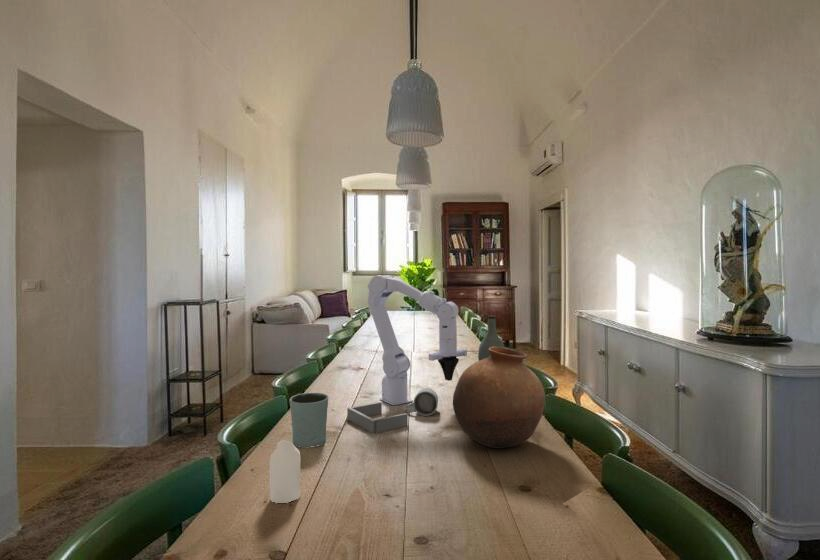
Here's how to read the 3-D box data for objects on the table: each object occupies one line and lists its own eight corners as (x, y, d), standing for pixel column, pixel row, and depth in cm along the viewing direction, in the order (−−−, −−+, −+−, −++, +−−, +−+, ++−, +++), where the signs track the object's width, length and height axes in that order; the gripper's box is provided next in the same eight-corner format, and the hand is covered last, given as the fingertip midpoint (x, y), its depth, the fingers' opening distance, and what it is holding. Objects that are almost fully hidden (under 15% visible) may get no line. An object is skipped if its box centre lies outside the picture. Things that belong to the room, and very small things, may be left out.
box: (347, 419, 147) (347, 407, 147) (380, 412, 154) (379, 401, 154) (373, 433, 134) (373, 421, 134) (407, 425, 141) (407, 413, 140)
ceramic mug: (438, 408, 158) (437, 385, 158) (437, 416, 149) (437, 391, 149) (406, 409, 159) (405, 385, 158) (403, 416, 150) (403, 391, 150)
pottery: (440, 436, 131) (439, 345, 131) (511, 425, 140) (510, 339, 140) (485, 467, 110) (484, 359, 110) (565, 451, 119) (564, 351, 119)
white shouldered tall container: (297, 432, 100) (302, 440, 95) (298, 489, 101) (303, 500, 95) (267, 436, 98) (271, 445, 93) (268, 494, 98) (272, 507, 93)
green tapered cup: (315, 433, 135) (314, 390, 135) (336, 442, 128) (336, 397, 128) (283, 442, 128) (282, 397, 128) (303, 452, 121) (302, 404, 121)
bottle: (494, 411, 154) (493, 317, 153) (472, 405, 161) (471, 315, 160) (512, 405, 160) (511, 315, 160) (490, 400, 167) (489, 313, 166)
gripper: (437, 342, 151) (438, 385, 152) (472, 338, 159) (473, 379, 160) (424, 339, 157) (425, 381, 157) (459, 335, 165) (459, 375, 165)
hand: (448, 379), depth 159 cm, fingers closed
